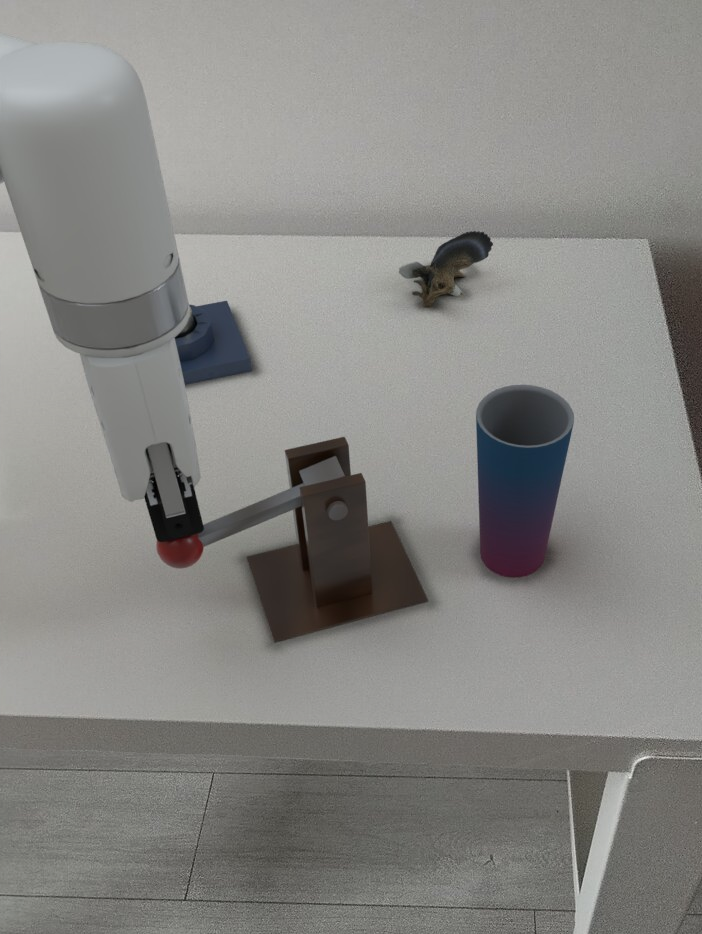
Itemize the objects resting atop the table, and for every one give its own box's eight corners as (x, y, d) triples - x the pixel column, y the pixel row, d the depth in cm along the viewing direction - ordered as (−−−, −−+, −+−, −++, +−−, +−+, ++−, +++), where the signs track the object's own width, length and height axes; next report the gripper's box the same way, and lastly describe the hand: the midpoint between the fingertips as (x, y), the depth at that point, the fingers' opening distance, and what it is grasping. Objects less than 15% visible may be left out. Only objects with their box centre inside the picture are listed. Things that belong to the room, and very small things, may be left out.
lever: (172, 584, 73) (152, 556, 70) (163, 552, 74) (144, 524, 72) (357, 506, 73) (345, 476, 71) (344, 477, 75) (332, 446, 73)
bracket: (275, 651, 77) (254, 530, 68) (248, 566, 83) (224, 443, 73) (428, 609, 80) (428, 488, 70) (391, 530, 86) (387, 407, 76)
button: (155, 344, 95) (151, 328, 94) (147, 320, 98) (143, 304, 97) (198, 335, 96) (195, 319, 95) (190, 312, 99) (186, 296, 98)
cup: (571, 562, 84) (594, 415, 72) (514, 607, 80) (528, 461, 69) (509, 519, 87) (521, 372, 75) (451, 561, 83) (455, 414, 72)
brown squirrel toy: (473, 319, 103) (509, 260, 107) (433, 261, 99) (472, 202, 103) (419, 333, 108) (455, 276, 112) (379, 279, 104) (417, 222, 108)
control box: (124, 404, 95) (115, 368, 92) (108, 342, 102) (98, 307, 98) (253, 377, 98) (247, 342, 95) (230, 319, 104) (224, 284, 101)
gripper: (32, 239, 61) (107, 472, 75) (62, 390, 52) (142, 623, 66) (160, 217, 63) (211, 449, 77) (212, 359, 54) (258, 593, 67)
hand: (179, 529), depth 71 cm, fingers closed
